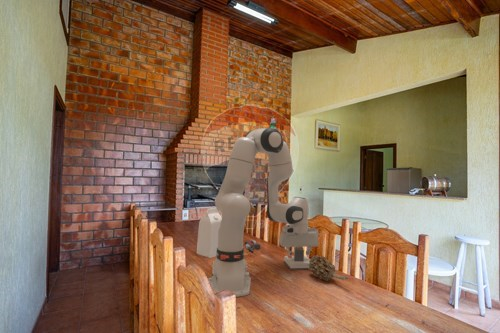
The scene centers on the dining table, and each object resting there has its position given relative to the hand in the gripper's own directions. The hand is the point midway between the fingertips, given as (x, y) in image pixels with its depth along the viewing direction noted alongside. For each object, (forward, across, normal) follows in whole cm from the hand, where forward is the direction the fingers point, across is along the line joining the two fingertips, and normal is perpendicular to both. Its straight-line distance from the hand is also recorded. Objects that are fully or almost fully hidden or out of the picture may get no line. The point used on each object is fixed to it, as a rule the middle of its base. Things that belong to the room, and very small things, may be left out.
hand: (298, 254), depth 141 cm
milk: (+6, +45, -23) cm, 51 cm away
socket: (+5, 0, 0) cm, 5 cm away
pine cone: (+6, -7, +21) cm, 23 cm away
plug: (+4, 0, 0) cm, 4 cm away
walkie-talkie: (+6, +19, -32) cm, 38 cm away
